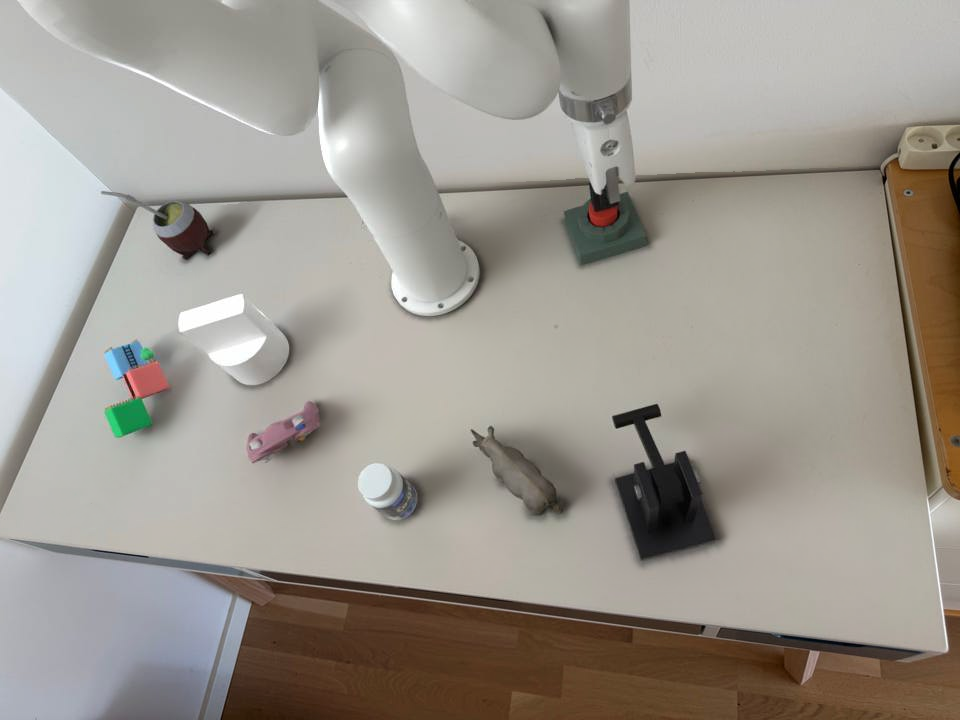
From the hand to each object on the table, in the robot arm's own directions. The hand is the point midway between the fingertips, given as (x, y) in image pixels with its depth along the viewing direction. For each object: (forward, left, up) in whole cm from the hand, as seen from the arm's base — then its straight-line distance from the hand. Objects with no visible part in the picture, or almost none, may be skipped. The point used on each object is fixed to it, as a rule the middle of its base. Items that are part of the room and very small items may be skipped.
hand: (605, 204), depth 84 cm
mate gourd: (-21, -61, -6) cm, 65 cm away
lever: (+34, -5, +1) cm, 35 cm away
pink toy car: (+17, -47, -6) cm, 51 cm away
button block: (0, 0, -6) cm, 6 cm away
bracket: (+38, -5, -6) cm, 39 cm away
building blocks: (+4, -69, -6) cm, 70 cm away
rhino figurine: (+30, -20, -6) cm, 36 cm away
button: (0, 0, -2) cm, 2 cm away
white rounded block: (+3, -51, -6) cm, 52 cm away
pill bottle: (+29, -34, -6) cm, 45 cm away
